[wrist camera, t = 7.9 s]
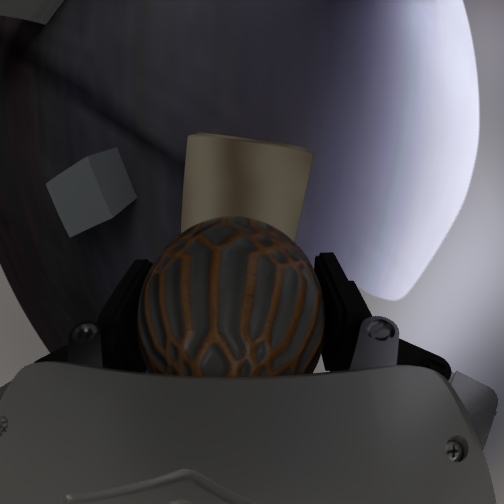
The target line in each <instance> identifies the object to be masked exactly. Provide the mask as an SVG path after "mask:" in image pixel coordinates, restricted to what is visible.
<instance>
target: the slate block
mask: <svg viewBox="0 0 504 504" xmlns="http://www.w3.org/2000/svg"><path fill="white" fill-rule="evenodd" d="M46 186H47V188H48V191H49V193H50V196H51V198H52V200H53V203H54V205H55V207H56V210H57V212H58V214H59V216H60V218H61V221H62V223H63V225H64V227H65V229H66V231H67V233H68V235H69V237H72V236H74V235H76V234H78V233H81V232H83V231H85V230H87V229H89V228H91V227H93V226H96V225H98V224H100V223H102V222H105V221H107V220H109V219H111V218H113V217H114V216H116V215H117V214H118V213H119V212H120V211H122V210H123V209H124V208H125V207H126V206H128V205H129V204H130V203H131V202H133V201H134V200H135V199H136V198H137V196H136V194H135V191H134V189H133V187H132V184H131V182H130V179H129V177H128V174H127V172H126V169H125V167H124V164H123V162H122V159H121V156H120V154H119V151H118V149H117V147H116V148H112V149H109V150H106V151H102V152H99V153H96V154H93V155H90V156H87V157H86V158H84V159H82V160H81V161H79V162H77V163H76V164H74V165H73V166H71V167H70V168H68V169H67V170H65V171H64V172H62V173H61V174H59V175H58V176H56V177H55V178H53V179H52V180H50V181H49V182H48V183H46Z"/></svg>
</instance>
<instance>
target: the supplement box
mask: <svg viewBox="0 0 504 504" xmlns="http://www.w3.org/2000/svg"><path fill="white" fill-rule="evenodd" d="M63 1H64V0H0V15H3V16H9V17H14V18H19V19H24V20H29V21H33V22H37V23H41V24H44V25H46V24H47V23H48V21H49V20H50V18H51V17H52V16H53V14H54V13H55V12H56V10H57V9H58V8H59V7H60V5H61V4H62V3H63Z"/></svg>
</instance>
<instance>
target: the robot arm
mask: <svg viewBox="0 0 504 504" xmlns="http://www.w3.org/2000/svg"><path fill="white" fill-rule="evenodd" d="M152 265H153V264H152V263H151V262H149V261H148V260H147V259H143V260H135V261H134V262H133V264H132V265H131V267H130V268H129V269H128V271H127V272H126V274H125V275H124V277H123V278H122V280H121V281H120V283H119V284H118V286H117V287H116V289H115V290H114V292H113V293H112V295H111V296H110V298H109V300H108V301H107V303H106V304H105V306H104V307H103V309H102V311H101V312H100V314H99V315H98V317H99V319H98V321H97V323H96V322H94V321H87V322H83V323H80V324H78V325H77V326H75V327H74V328H73V329H72V331H71V332H70V335H69V341H68V345H66V346H64V347H62V348H60V349H58V350H56V351H54V352H52V353H50V354H48V355H47V356H44V357H42V358H40V359H39V360H37V361H35V362H34V363H33V364H30V365H28V366H25V367H24V368H22V369H21V370H20V371H19V372H18V373H17V375H16V376H15V377H14V379H13V380H12V381H11V382H9V383H7V384H5V385H4V386H2V387H0V504H496V499H495V494H494V489H493V485H492V480H491V476H490V472H489V469H488V465H487V462H486V459H485V456H484V453H483V449H484V446H485V444H486V441H487V438H488V435H489V432H490V429H491V426H492V423H493V419H494V416H495V412H496V409H497V405H498V398H497V394H496V393H495V392H494V390H493V389H491V388H490V387H488V386H486V385H484V384H482V383H480V382H478V381H476V380H474V379H472V378H470V377H468V376H466V375H464V374H462V373H460V372H458V371H456V372H455V374H454V373H452V372H451V367H450V365H449V364H448V362H447V361H446V360H445V359H443V358H442V357H440V356H438V355H435V354H433V353H431V352H429V351H426V350H424V349H422V348H420V347H417V346H415V345H413V344H410V343H408V342H406V341H404V340H402V339H399V329H398V327H397V325H396V324H395V323H394V322H393V321H391V320H390V319H388V318H385V317H381V316H373V317H372V315H371V313H370V311H369V309H368V307H367V305H366V303H365V301H364V299H363V297H362V296H361V293H360V292H359V290H358V288H357V286H356V284H355V283H354V281H348V279H347V277H346V275H345V273H344V271H343V270H342V268H341V266H340V264H339V262H338V260H337V258H336V256H335V255H334V253H333V252H329V253H320V255H319V256H316V257H315V264H314V271H315V273H316V275H317V278H318V280H319V282H320V286H321V289H322V292H323V296H324V301H325V310H326V328H325V337H324V343H323V348H322V352H321V354H322V358H323V363H324V367H325V370H326V371H330V372H324V373H313V374H301V375H287V376H268V377H196V376H177V375H163V374H151V373H143V372H145V371H146V370H147V367H146V364H145V362H144V360H143V357H142V354H141V351H140V347H139V342H138V335H137V312H138V303H139V298H140V293H141V290H142V287H143V283H144V281H145V278H146V276H147V274H148V272H149V270H150V268H151V267H152Z"/></svg>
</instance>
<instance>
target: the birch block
mask: <svg viewBox="0 0 504 504" xmlns="http://www.w3.org/2000/svg"><path fill="white" fill-rule="evenodd" d="M313 154H314V153H312V152H310V151H309V150H307V149H305V148H303V147H299V146H294V145H288V144H283V143H277V142H271V141H265V140H258V139H251V138H244V137H236V136H228V135H218V134H208V133H196V134H193V135H189V136H188V141H187V151H186V161H185V173H184V186H183V201H182V219H181V233H182V232H184V231H185V230H187V229H188V228H190V227H192V226H194V225H196V224H198V223H201V222H203V221H206V220H210V219H213V218H218V217H226V216H239V217H247V218H252V219H256V220H259V221H262V222H265V223H267V224H269V225H271V226H273V227H275V228H277V229H278V230H280V231H282V232H283V233H284V234H286V235H287V236H288V237H289V238H291V239H292V240H293V241H295V237H296V233H297V228H298V224H299V219H300V215H301V211H302V206H303V202H304V197H305V192H306V188H307V183H308V178H309V173H310V168H311V164H312V159H313Z"/></svg>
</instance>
